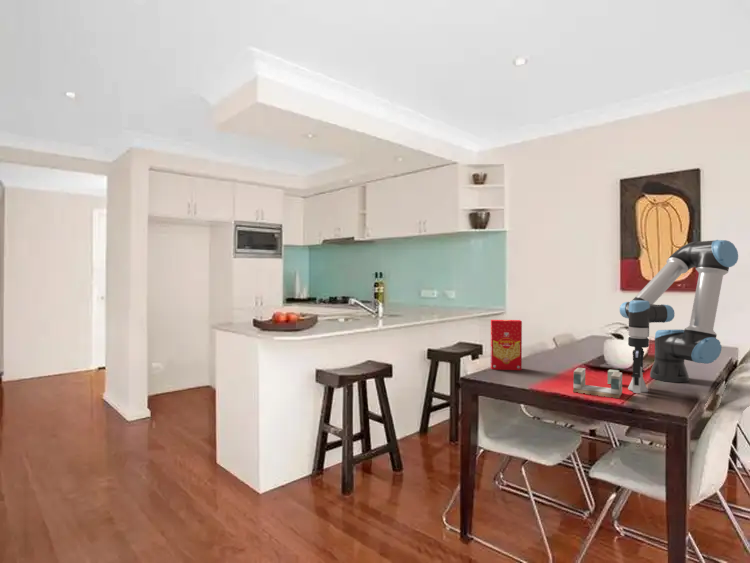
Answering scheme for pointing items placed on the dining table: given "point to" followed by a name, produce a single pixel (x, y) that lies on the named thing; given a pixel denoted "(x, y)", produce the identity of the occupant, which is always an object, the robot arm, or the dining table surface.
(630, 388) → the flask
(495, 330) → the food packaging
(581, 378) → the grey u-shaped holder
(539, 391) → the dining table surface
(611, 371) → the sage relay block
